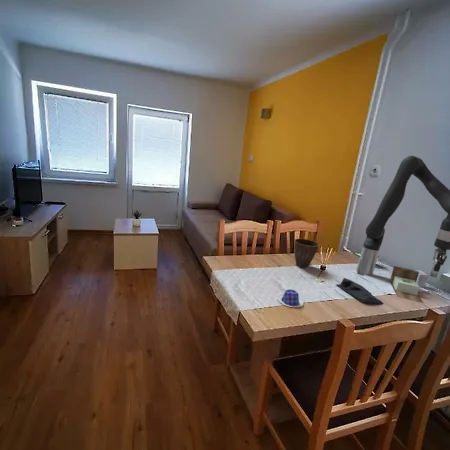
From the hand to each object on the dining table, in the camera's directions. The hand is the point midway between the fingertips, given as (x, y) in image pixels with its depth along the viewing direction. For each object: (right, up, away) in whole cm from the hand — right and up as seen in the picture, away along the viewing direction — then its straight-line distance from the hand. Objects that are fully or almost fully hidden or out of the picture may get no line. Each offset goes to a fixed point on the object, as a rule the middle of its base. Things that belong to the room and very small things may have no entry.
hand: (435, 269), depth 142 cm
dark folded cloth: (-41, -13, 0) cm, 43 cm away
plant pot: (-61, -3, +32) cm, 69 cm away
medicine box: (+5, -13, +21) cm, 25 cm away
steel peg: (0, -4, +1) cm, 4 cm away
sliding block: (-10, -13, +10) cm, 19 cm away
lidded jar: (-7, -4, +52) cm, 53 cm away
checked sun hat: (-81, -12, -16) cm, 83 cm away
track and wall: (-11, -14, +8) cm, 20 cm away
